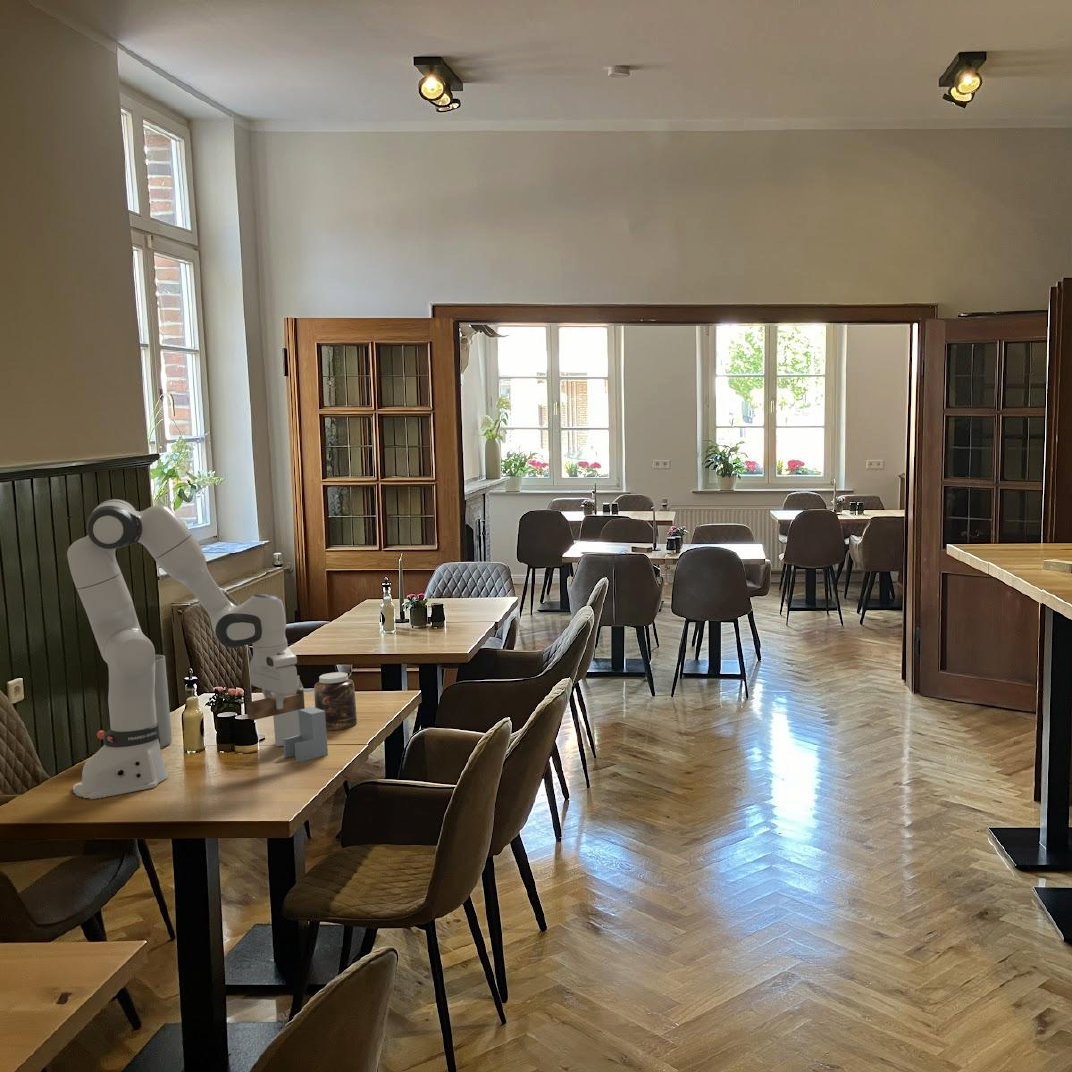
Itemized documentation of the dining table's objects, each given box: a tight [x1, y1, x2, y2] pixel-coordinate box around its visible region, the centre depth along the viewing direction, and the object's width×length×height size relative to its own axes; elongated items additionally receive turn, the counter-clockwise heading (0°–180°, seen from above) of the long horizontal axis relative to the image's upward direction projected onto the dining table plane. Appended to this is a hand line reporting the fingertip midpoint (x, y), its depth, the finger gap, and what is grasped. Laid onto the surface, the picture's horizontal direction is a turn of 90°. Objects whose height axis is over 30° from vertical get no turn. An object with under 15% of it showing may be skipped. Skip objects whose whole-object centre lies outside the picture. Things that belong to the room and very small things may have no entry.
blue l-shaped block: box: [283, 706, 329, 763], centre depth 286 cm, size 9×7×12 cm
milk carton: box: [271, 675, 304, 747], centre depth 299 cm, size 7×7×19 cm
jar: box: [313, 671, 358, 731], centre depth 316 cm, size 12×12×15 cm
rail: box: [246, 688, 306, 721], centre depth 280 cm, size 15×4×5 cm, turn 131°
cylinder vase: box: [154, 654, 173, 749], centre depth 303 cm, size 12×12×25 cm
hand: (274, 707), depth 280 cm, fingers closed on rail, 4 cm apart
